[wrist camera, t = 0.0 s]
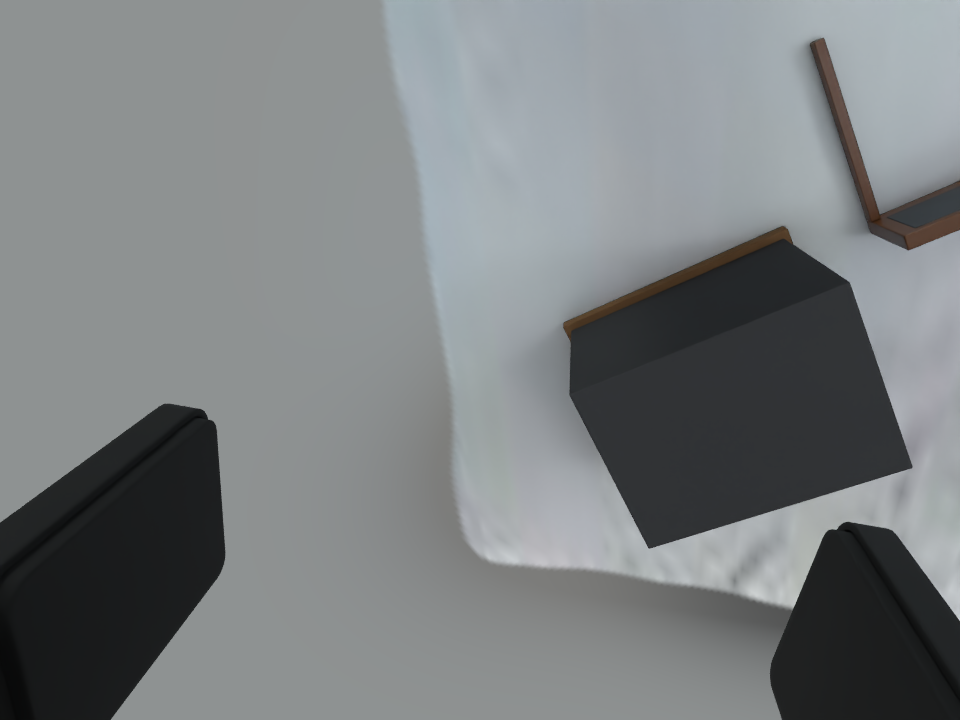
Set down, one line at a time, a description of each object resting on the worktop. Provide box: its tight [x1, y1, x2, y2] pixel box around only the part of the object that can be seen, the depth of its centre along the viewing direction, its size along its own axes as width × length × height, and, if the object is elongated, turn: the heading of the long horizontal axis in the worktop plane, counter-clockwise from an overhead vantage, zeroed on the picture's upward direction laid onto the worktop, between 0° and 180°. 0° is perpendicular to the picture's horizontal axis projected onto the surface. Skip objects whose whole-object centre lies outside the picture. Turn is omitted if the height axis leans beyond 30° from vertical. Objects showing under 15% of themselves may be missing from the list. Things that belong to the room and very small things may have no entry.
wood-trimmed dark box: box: [563, 226, 912, 548], centre depth 41 cm, size 14×16×12 cm
